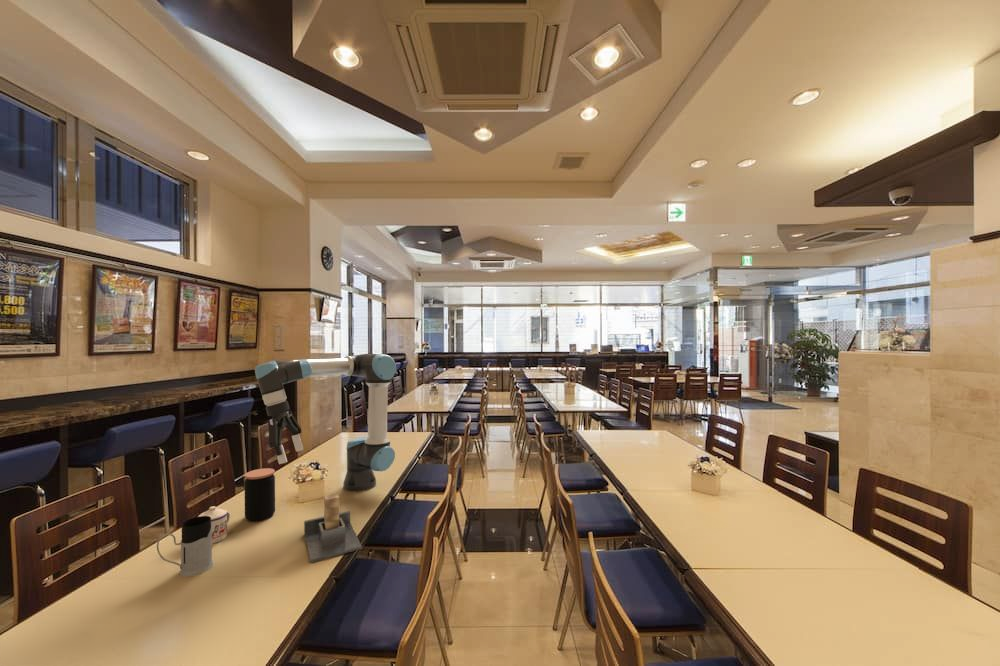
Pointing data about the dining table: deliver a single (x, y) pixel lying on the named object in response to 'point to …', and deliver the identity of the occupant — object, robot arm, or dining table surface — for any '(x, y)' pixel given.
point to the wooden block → (331, 511)
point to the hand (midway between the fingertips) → (292, 456)
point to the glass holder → (194, 546)
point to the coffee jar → (259, 494)
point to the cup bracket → (330, 538)
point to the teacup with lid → (218, 523)
